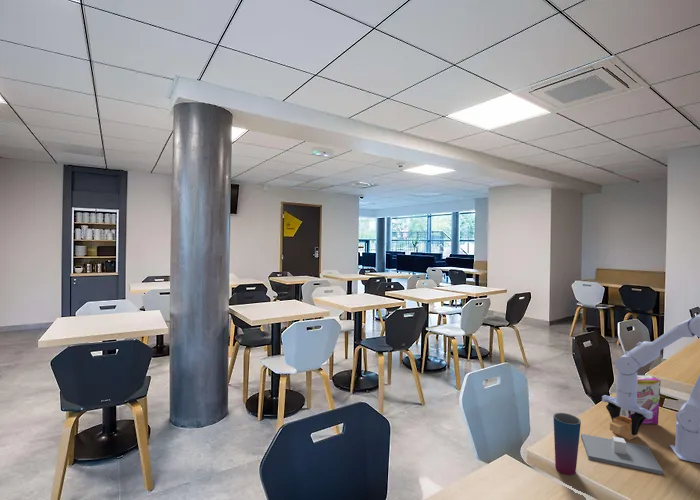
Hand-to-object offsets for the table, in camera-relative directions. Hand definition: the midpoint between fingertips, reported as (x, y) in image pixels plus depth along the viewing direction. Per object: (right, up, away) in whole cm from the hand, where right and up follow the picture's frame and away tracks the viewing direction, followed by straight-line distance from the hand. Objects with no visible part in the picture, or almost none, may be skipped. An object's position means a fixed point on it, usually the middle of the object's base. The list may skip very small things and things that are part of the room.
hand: (625, 430), depth 127 cm
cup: (-32, -2, -20) cm, 38 cm away
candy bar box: (+12, -1, +9) cm, 15 cm away
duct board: (-11, -2, -12) cm, 16 cm away
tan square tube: (-2, -1, -1) cm, 2 cm away
